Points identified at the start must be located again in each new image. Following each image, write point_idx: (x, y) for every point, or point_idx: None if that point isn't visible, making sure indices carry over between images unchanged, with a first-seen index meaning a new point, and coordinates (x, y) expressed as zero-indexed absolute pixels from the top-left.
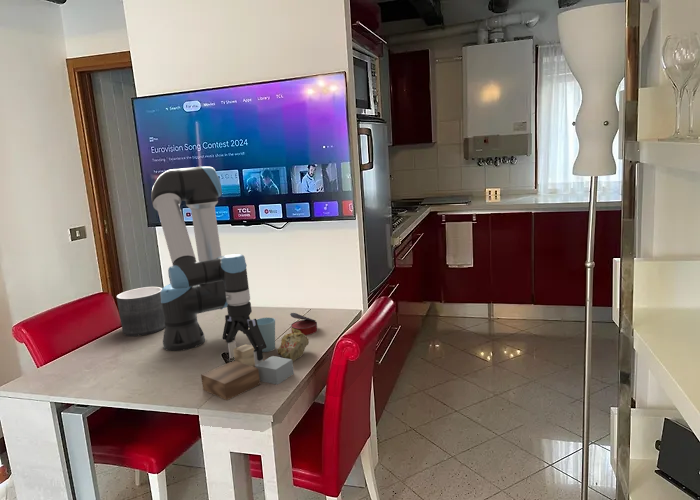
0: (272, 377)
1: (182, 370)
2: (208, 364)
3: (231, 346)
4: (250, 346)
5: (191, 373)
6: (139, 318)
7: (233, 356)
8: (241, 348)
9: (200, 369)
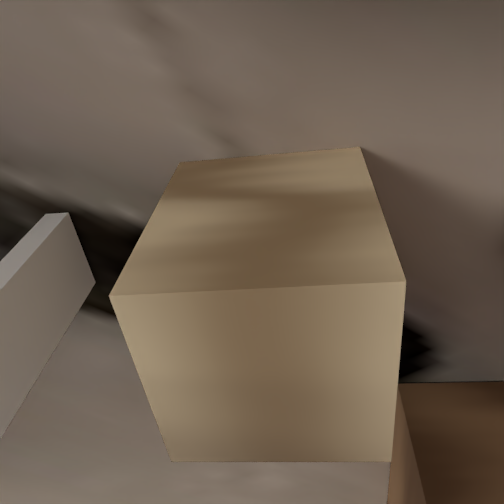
0: None
1: (8, 483)
2: None
3: (1, 393)
4: (302, 314)
5: (95, 481)
6: None
7: (63, 286)
8: (249, 414)
9: (67, 440)
